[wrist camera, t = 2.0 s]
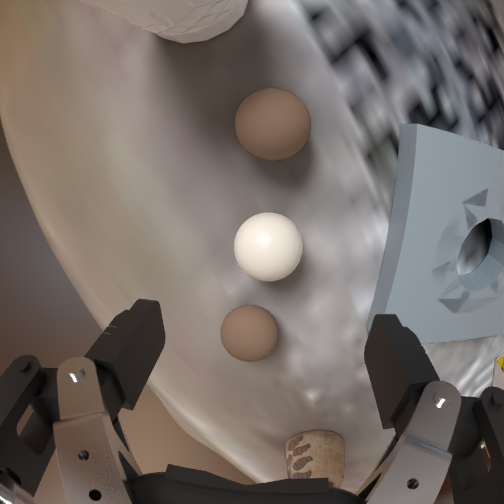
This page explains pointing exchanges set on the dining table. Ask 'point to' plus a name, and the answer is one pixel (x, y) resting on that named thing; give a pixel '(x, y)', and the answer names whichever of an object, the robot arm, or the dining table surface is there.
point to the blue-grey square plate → (443, 238)
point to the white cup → (177, 16)
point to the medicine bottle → (499, 373)
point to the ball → (268, 246)
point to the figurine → (316, 456)
